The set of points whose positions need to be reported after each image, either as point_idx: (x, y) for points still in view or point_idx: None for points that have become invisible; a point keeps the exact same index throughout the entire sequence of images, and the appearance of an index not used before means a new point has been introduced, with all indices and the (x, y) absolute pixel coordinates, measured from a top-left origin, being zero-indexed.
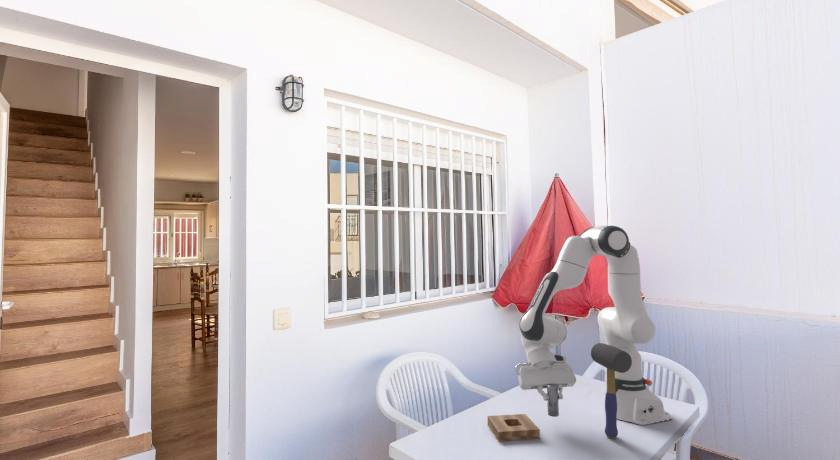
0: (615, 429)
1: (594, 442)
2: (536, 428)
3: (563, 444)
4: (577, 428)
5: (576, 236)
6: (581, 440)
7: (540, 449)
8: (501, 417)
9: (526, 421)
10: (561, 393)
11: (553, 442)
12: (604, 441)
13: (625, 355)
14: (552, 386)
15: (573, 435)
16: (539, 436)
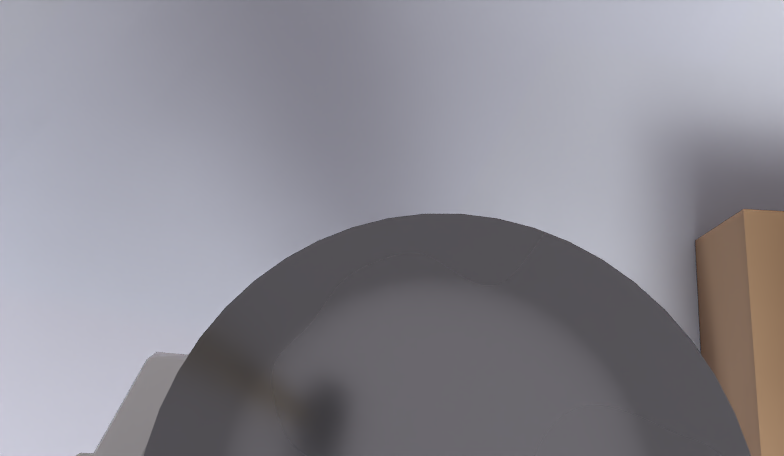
0: None
1: (150, 71)
2: (778, 242)
3: (488, 87)
4: (106, 396)
5: None
6: (252, 128)
7: (771, 40)
8: None
9: None
10: (123, 425)
11: (573, 141)
12: (37, 72)
13: None
14: (540, 333)
15: (267, 242)
16: (707, 235)
